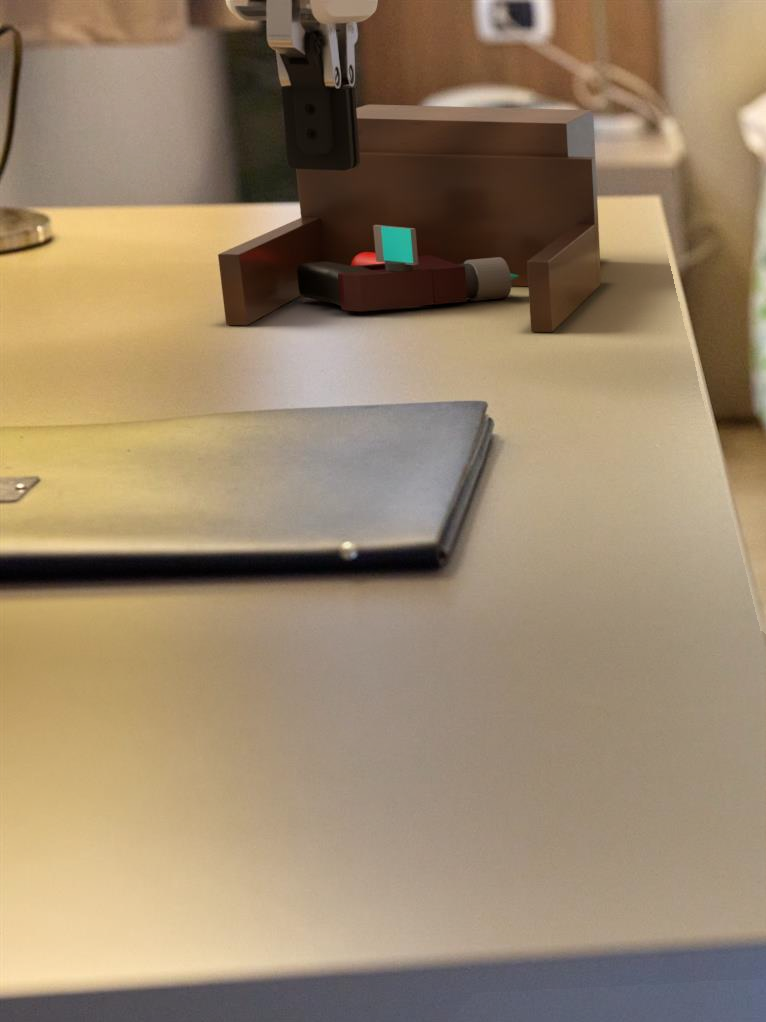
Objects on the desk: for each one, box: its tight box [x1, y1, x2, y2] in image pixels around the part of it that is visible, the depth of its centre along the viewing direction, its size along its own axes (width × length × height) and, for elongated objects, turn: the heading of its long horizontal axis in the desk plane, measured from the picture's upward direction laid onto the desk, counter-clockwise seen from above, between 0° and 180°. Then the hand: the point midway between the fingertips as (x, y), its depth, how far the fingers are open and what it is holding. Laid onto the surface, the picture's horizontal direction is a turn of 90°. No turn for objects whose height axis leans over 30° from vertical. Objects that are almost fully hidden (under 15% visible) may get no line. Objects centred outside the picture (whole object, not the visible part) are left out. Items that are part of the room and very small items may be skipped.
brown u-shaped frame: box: [217, 104, 602, 333], centre depth 120 cm, size 18×25×10 cm
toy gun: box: [297, 225, 518, 312], centre depth 119 cm, size 10×12×5 cm
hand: (324, 167), depth 100 cm, fingers closed
